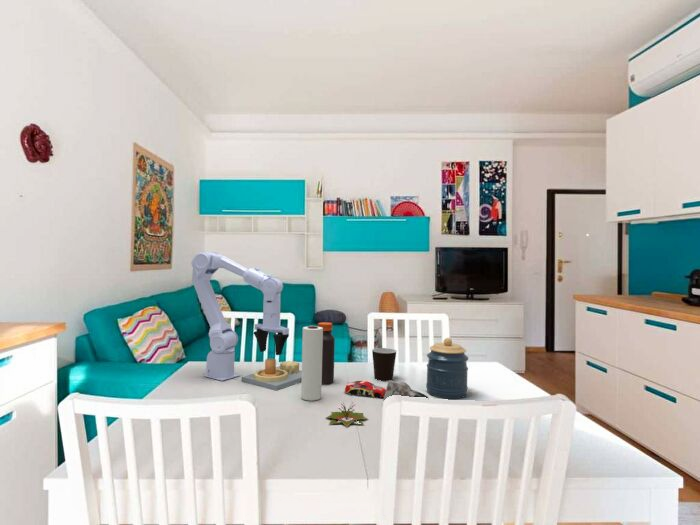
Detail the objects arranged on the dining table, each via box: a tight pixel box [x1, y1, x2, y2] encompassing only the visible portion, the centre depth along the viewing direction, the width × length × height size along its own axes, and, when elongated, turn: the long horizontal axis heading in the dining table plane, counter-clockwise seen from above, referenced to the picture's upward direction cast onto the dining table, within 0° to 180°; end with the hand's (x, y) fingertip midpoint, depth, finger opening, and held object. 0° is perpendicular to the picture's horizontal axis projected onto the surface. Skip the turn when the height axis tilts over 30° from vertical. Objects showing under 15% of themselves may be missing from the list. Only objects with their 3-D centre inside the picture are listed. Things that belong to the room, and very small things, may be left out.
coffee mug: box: [371, 347, 397, 382], centre depth 152 cm, size 12×9×10 cm
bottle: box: [317, 321, 336, 386], centre depth 145 cm, size 7×7×20 cm
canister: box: [425, 337, 469, 400], centre depth 136 cm, size 13×13×18 cm
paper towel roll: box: [300, 324, 323, 402], centre depth 129 cm, size 7×6×21 cm
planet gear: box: [259, 358, 281, 377], centre depth 143 cm, size 7×7×6 cm
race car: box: [344, 380, 387, 399], centre depth 133 cm, size 13×5×4 cm, turn 72°
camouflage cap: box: [382, 380, 429, 402], centre depth 124 cm, size 7×11×10 cm
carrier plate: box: [241, 360, 302, 391], centre depth 147 cm, size 16×19×4 cm
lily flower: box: [325, 402, 368, 428], centre depth 112 cm, size 12×12×5 cm
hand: (270, 353), depth 145 cm, fingers open, 7 cm apart
